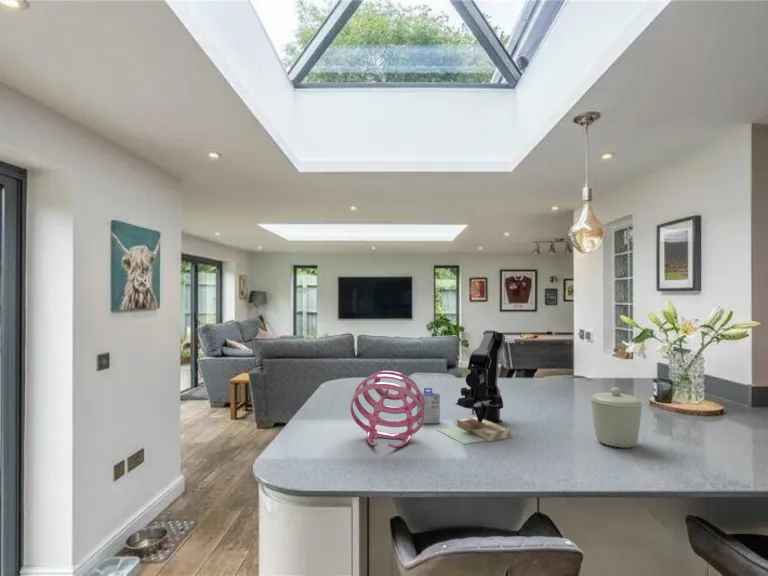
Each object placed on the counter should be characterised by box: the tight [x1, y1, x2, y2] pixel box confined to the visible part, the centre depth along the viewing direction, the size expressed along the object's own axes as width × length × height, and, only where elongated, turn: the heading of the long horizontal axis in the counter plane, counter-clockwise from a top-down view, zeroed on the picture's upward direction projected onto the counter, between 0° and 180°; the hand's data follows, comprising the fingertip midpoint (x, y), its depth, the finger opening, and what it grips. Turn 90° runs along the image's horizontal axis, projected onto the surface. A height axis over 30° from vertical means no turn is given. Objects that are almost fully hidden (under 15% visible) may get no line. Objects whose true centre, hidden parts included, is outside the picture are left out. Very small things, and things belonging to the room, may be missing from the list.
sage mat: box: [437, 426, 486, 445], centre depth 166 cm, size 10×18×1 cm, turn 26°
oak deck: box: [456, 416, 512, 442], centre depth 171 cm, size 11×20×3 cm, turn 26°
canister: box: [589, 387, 645, 448], centre depth 158 cm, size 18×18×21 cm
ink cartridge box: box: [416, 387, 441, 424], centre depth 184 cm, size 10×6×14 cm, turn 90°
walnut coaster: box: [460, 419, 485, 430], centre depth 168 cm, size 7×7×2 cm
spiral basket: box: [349, 370, 425, 449], centre depth 157 cm, size 28×28×27 cm
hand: (480, 422), depth 170 cm, fingers closed
